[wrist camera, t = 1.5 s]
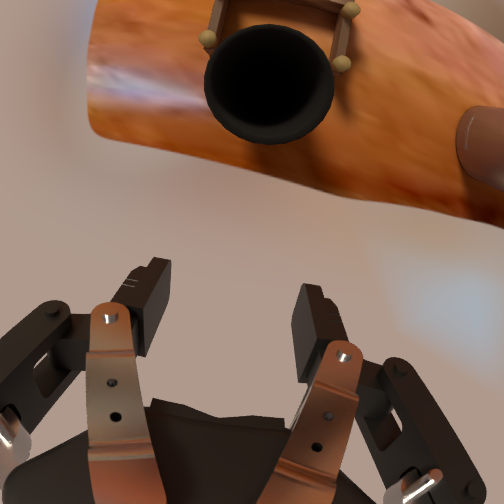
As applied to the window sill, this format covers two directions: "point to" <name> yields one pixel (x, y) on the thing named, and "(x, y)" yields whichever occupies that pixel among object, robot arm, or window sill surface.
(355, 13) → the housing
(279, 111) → the cup
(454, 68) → the window sill surface
